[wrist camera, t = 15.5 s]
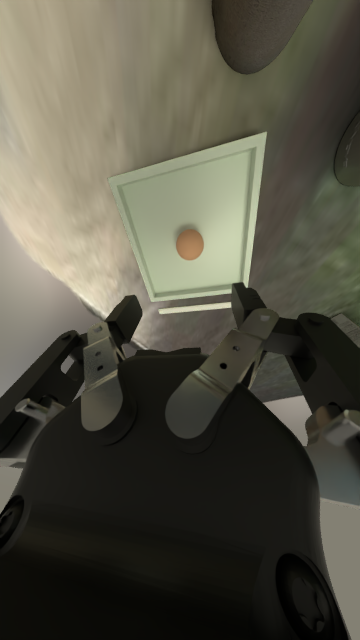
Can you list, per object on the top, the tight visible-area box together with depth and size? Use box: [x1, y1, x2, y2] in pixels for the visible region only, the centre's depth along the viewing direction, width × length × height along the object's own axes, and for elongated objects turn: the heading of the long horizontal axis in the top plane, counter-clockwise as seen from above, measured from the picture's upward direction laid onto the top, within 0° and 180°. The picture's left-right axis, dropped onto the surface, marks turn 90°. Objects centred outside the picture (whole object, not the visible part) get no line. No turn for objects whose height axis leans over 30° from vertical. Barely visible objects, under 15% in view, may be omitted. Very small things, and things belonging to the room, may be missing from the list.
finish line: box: [158, 302, 231, 314], centre depth 38 cm, size 22×2×1 cm, turn 100°
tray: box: [107, 132, 267, 302], centre depth 28 cm, size 22×22×3 cm
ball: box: [176, 229, 204, 261], centre depth 26 cm, size 5×5×5 cm
